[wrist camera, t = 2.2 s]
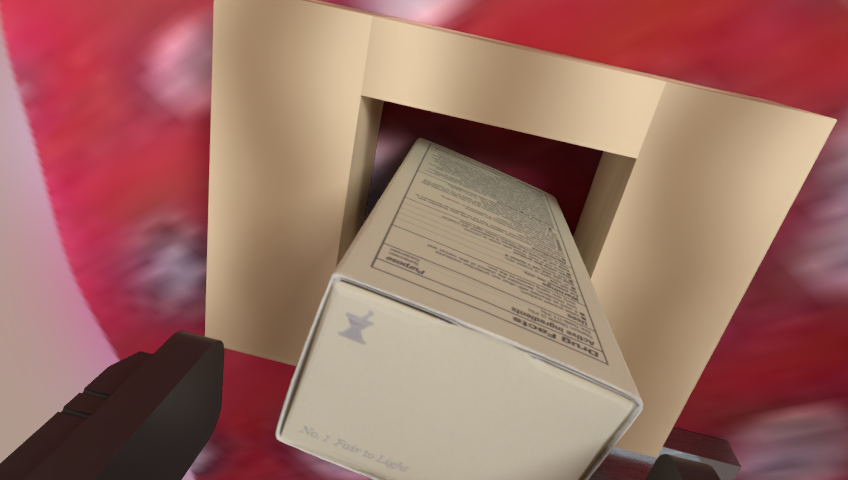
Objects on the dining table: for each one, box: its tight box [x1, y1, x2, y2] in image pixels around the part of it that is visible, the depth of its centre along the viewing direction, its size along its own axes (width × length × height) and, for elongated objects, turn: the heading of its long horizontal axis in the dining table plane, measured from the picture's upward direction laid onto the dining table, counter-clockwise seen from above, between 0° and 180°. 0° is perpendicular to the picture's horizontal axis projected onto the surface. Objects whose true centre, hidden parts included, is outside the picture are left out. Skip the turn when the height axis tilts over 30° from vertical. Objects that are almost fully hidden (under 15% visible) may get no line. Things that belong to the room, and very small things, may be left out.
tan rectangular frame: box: [205, 0, 837, 458], centre depth 19 cm, size 18×13×4 cm
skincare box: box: [275, 138, 643, 480], centre depth 15 cm, size 6×4×12 cm
